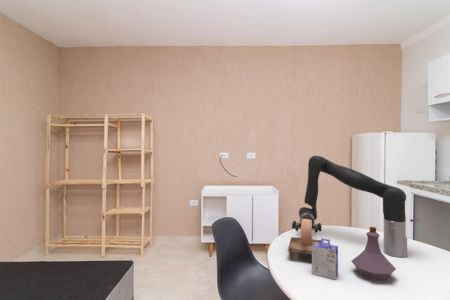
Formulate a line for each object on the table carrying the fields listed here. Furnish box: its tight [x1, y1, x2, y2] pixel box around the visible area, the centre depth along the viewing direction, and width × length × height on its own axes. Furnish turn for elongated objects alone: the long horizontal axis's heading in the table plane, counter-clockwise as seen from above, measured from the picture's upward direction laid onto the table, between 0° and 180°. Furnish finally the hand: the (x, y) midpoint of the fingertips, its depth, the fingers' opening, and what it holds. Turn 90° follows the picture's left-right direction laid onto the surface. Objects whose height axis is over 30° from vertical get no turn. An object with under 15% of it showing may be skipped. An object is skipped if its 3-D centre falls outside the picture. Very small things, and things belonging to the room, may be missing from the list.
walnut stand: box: [287, 236, 324, 262], centre depth 124 cm, size 16×16×6 cm
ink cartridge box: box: [311, 237, 339, 280], centre depth 106 cm, size 10×6×14 cm, turn 58°
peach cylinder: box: [300, 219, 313, 246], centre depth 124 cm, size 5×5×12 cm
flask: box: [351, 226, 397, 281], centre depth 106 cm, size 16×16×20 cm
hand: (306, 230), depth 122 cm, fingers open, 8 cm apart
